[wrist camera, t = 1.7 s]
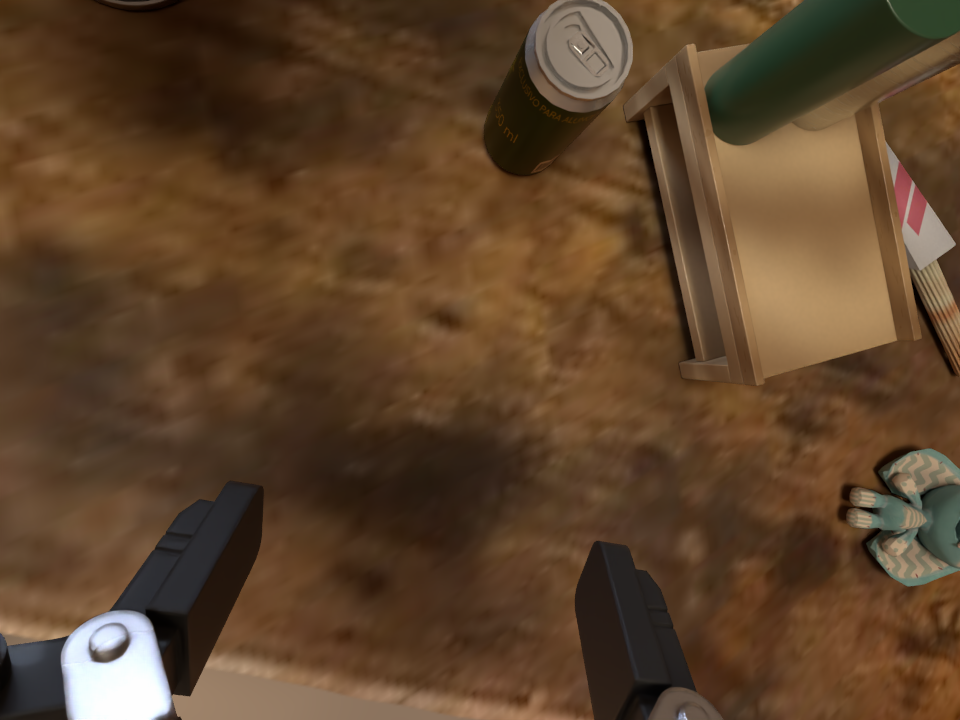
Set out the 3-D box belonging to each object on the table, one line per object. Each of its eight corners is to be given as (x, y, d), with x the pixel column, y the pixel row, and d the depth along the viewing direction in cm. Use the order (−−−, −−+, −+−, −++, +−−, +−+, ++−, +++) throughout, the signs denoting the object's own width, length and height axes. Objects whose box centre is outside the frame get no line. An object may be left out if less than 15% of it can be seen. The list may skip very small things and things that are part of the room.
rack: (622, 105, 40) (843, -108, 21) (768, 80, 42) (1085, -134, 23) (681, 378, 41) (937, 404, 23) (820, 340, 43) (1159, 334, 25)
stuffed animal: (903, 443, 38) (1076, 474, 38) (836, 431, 46) (982, 457, 46) (877, 599, 38) (1050, 629, 38) (814, 562, 46) (960, 587, 46)
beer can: (572, 143, 39) (658, 55, 27) (519, 194, 39) (583, 127, 27) (520, 82, 38) (586, -35, 27) (465, 134, 38) (507, 37, 26)
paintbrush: (906, 126, 41) (1004, 360, 44) (872, 138, 43) (967, 358, 47) (867, 151, 40) (970, 386, 43) (835, 162, 43) (934, 383, 46)
